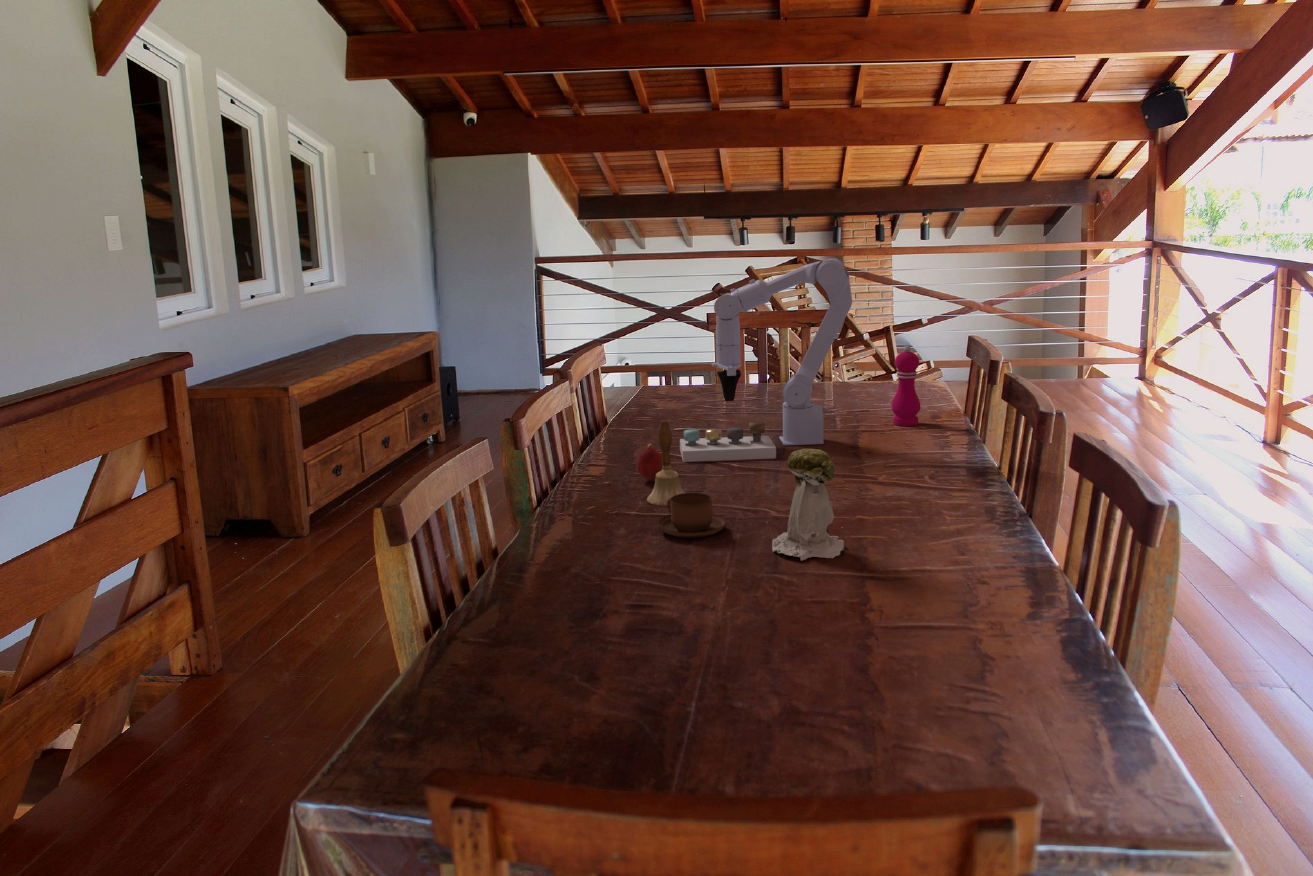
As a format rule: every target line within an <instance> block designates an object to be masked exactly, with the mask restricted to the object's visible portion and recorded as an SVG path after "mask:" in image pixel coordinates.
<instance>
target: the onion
mask: <svg viewBox="0 0 1313 876" xmlns="http://www.w3.org/2000/svg"><path fill="white" fill-rule="evenodd" d="M662 466H663V465H662V453H660V452H659V451H658V450H657V449H655V448H654V445H653V444H652V443H649V444H647V446H646V447H645V449H644V450H642V451H641V452H640V454H639V455H638V457H637V460H636V469H637V471H638V473H639V475H640V476H641V477H642V478H644V479H645V480H647V481H649V482H653V481H654V482H655V479H656V474H657V473H658V472H660V471H661V470H662V469H663V468H662Z"/></svg>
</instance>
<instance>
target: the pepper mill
mask: <svg viewBox="0 0 1313 876" xmlns="http://www.w3.org/2000/svg"><path fill="white" fill-rule="evenodd" d="M911 350H912V348H911V346H909V345H905V346H904V347H903V351H902V352H900V353H899V354H897V355H896V357H895V358H894V366H895V368H896V369H897V371H896V377H897V379H898V385H897V386H898V387H897V390H896V392H895V395H894V397H893V399H892V401H891V405H890V406H891V407H890V408H891V409H890V410H891V411H892V412H893V413H894V416H893V417H892V424H893V425H895V426H898V425H902V426H901V427H912V426H911V425H915V426H918V424H919V417H918V415H917V414H919V412H920V411H921V401H920V399H919V397H918V393H917V390H916V387H915V386H916V385H915V383H916V378H917V377H918V375H917V374H918V371H917V369H918V368H919V365H920V358H919V357H918V355H917V353H915V352H911Z"/></svg>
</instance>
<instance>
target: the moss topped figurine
mask: <svg viewBox="0 0 1313 876" xmlns="http://www.w3.org/2000/svg"><path fill="white" fill-rule="evenodd" d="M785 466H786V468H787V469H788V471H789V472H790V473H791V474H793V476H794V480H795V483H796V484H797V485H796V487H795V489H794V492H793V496H792V500H791V505H790V510H789V517H788V522H787V531H785V532H783V533H782V534H779V535H777V537H776V538H773V539H772V542H771V543H772V544H771V550H772V552H776V553H777V554H784V555H786V556H791V557H792V556H793V557H797V558H800V561H805V560H807V559H808V558H812V557H815V558H826V559H834V558H835V557H838V556H840V555H841V552H842V551H843V552H845V543H844V542H845V541H844V540H843V539H839V538H840V537H839V536H837V535H830V533H829V525H831V524H832V522H833V521H834V517H835V515H834V510H833V507H832V505H833V503H832V500H830V497H829V495H828V491H827V488H826V486H825V483H827V482H831V481H832V480H833V479H834V477H835V474H834V473H835V463H834V462H833V461H832V459H831V457H830V455H828V453H827V452H826V451H824V450H822V449H818V448H817V449H815V448H801V449H798V450H794V451H791V452H790V455H789V456H788V457H787V461H786V464H785ZM812 535H813V536H812Z"/></svg>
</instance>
